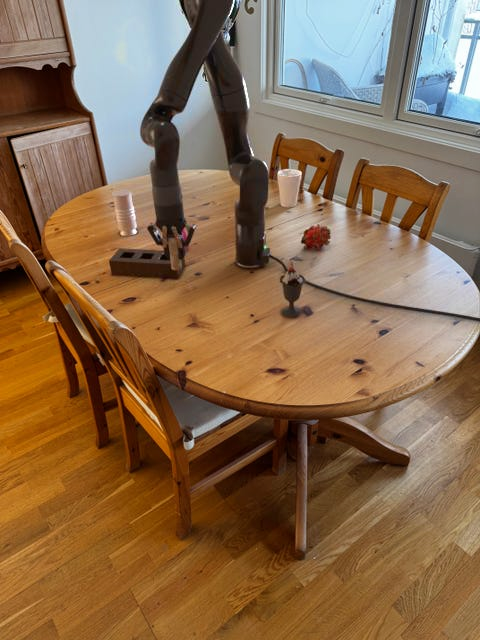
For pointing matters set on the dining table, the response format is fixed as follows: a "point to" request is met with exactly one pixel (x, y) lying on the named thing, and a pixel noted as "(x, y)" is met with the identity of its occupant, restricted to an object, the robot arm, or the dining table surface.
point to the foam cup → (289, 186)
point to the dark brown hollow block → (143, 264)
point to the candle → (124, 212)
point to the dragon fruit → (316, 237)
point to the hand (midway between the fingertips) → (175, 258)
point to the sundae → (292, 290)
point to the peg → (174, 252)
